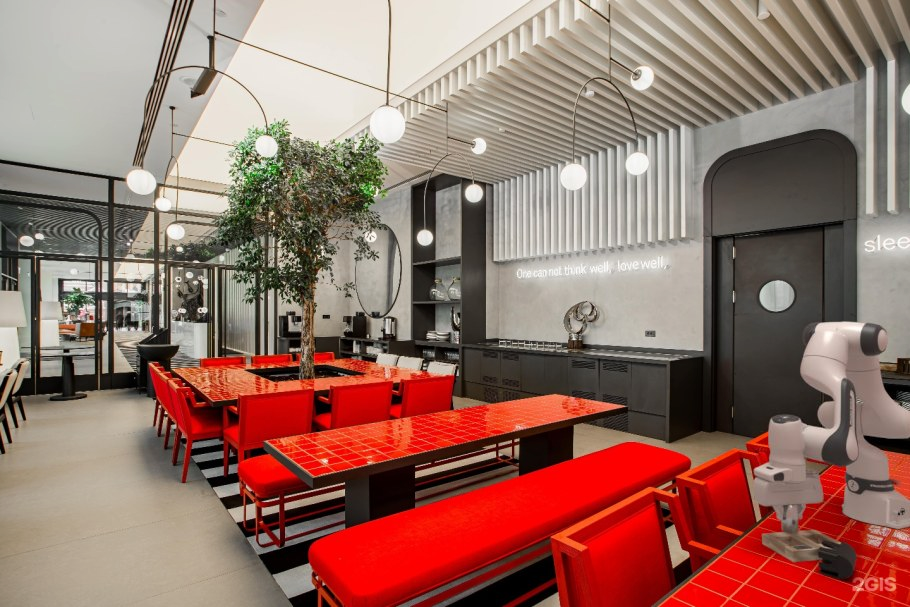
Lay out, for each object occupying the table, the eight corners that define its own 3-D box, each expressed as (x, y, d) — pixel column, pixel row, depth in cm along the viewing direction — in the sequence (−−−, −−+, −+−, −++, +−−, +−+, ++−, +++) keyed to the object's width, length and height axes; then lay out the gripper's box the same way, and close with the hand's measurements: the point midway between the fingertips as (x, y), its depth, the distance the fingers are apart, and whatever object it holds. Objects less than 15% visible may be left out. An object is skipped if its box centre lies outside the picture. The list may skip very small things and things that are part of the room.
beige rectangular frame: (814, 539, 143) (814, 529, 144) (849, 557, 132) (848, 545, 133) (762, 543, 141) (761, 533, 141) (793, 562, 130) (792, 550, 130)
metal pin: (790, 527, 138) (789, 500, 139) (802, 533, 134) (800, 505, 135) (778, 528, 138) (777, 501, 138) (789, 534, 134) (788, 506, 134)
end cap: (853, 584, 119) (852, 557, 119) (818, 574, 124) (817, 548, 124) (857, 570, 126) (856, 544, 126) (824, 560, 131) (823, 536, 131)
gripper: (809, 466, 142) (811, 512, 141) (748, 469, 139) (750, 516, 138) (828, 472, 135) (830, 521, 135) (765, 476, 133) (767, 525, 132)
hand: (789, 518), depth 136 cm, fingers closed on metal pin, 4 cm apart
